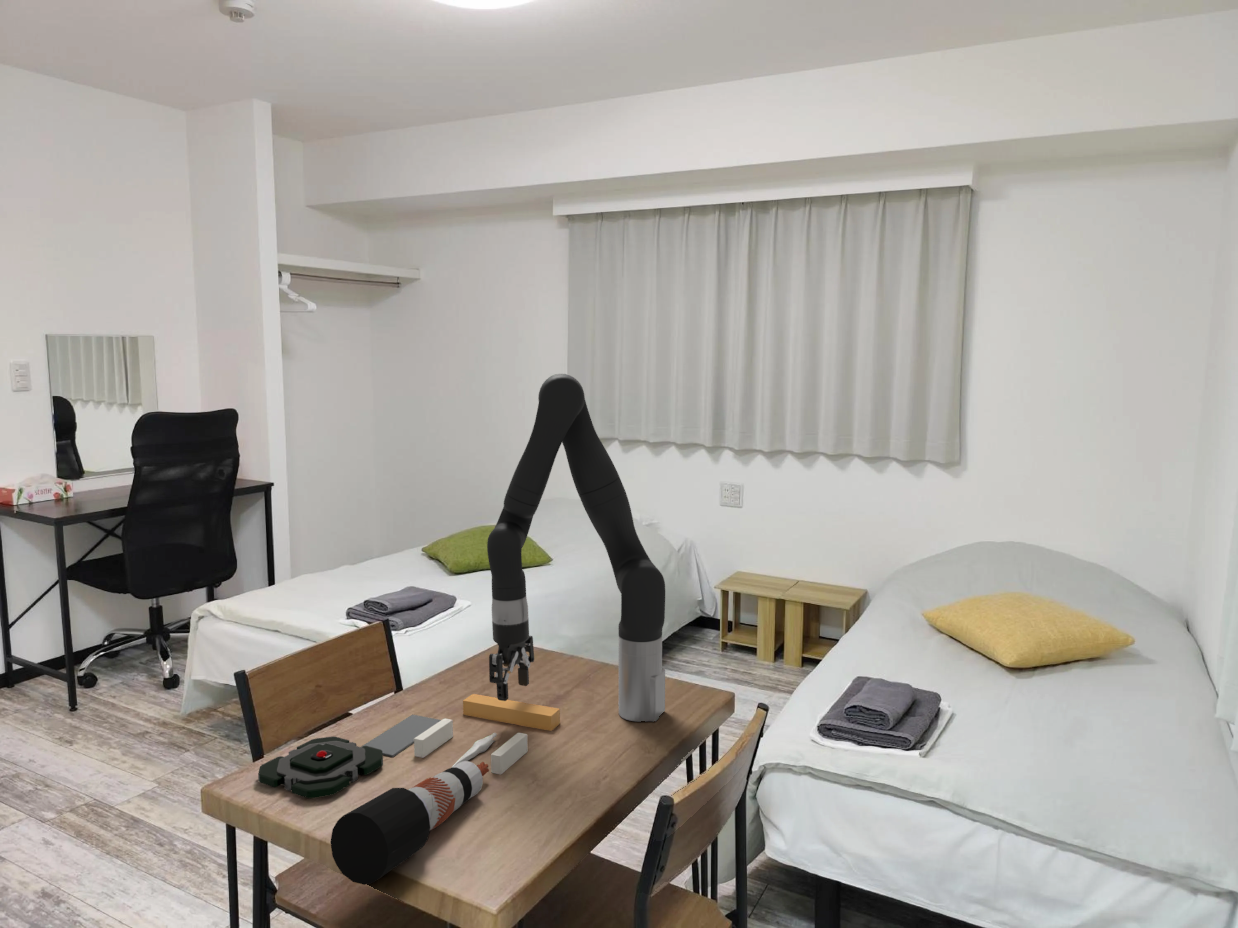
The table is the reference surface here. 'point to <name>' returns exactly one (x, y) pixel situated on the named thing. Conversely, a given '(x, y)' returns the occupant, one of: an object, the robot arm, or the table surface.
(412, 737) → the mat
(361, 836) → the cable
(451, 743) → the table surface
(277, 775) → the flat green button pad
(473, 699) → the bar
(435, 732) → the rails
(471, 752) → the white tapered spike
